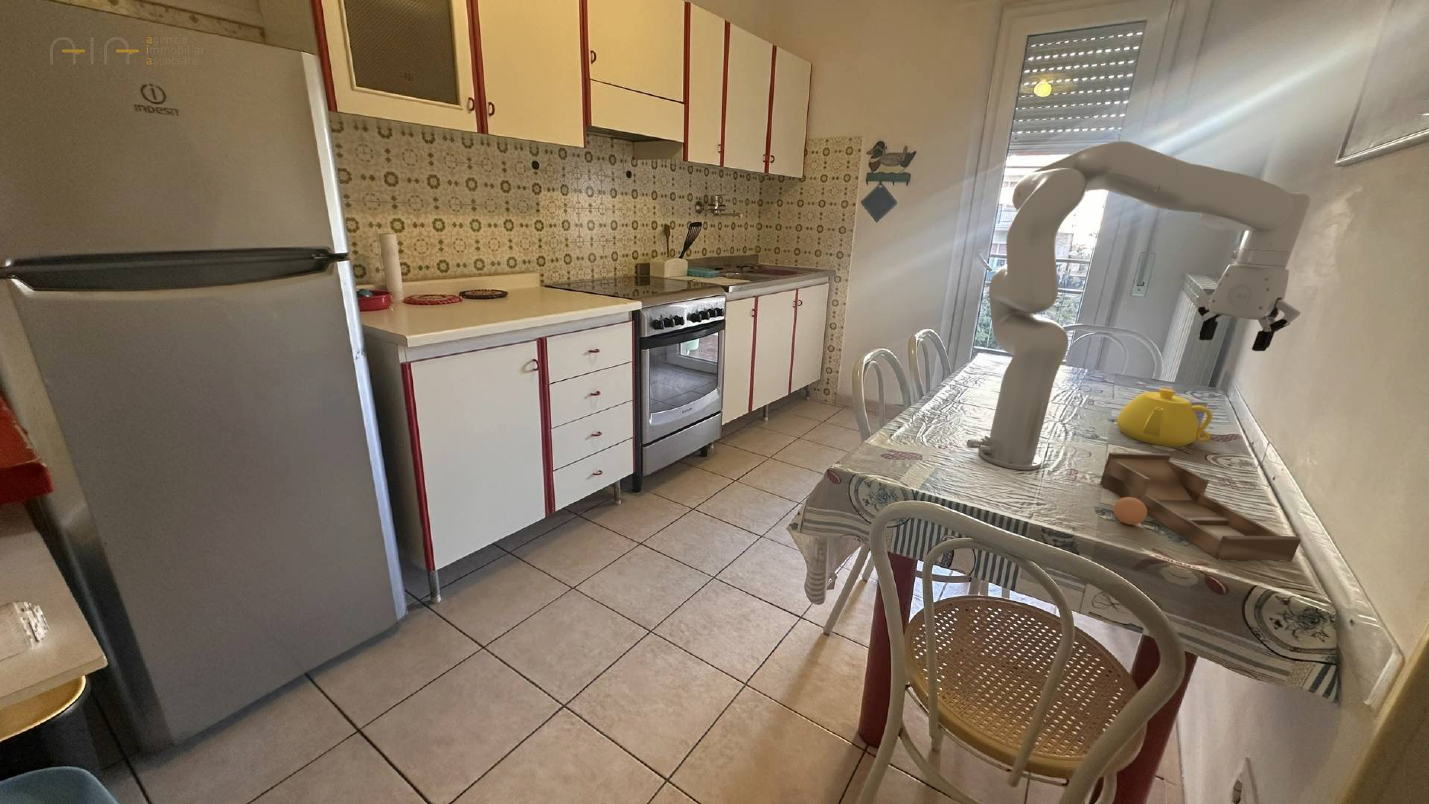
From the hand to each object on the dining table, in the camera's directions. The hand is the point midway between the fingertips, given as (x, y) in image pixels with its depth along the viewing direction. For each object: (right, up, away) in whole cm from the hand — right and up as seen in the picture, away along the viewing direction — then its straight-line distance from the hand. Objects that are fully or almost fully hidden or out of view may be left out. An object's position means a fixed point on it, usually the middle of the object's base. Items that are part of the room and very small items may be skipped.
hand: (1230, 345), depth 115 cm
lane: (-20, -33, -12) cm, 40 cm away
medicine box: (+20, -19, +37) cm, 46 cm away
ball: (-33, -31, -16) cm, 48 cm away
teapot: (+6, -21, +27) cm, 35 cm away
